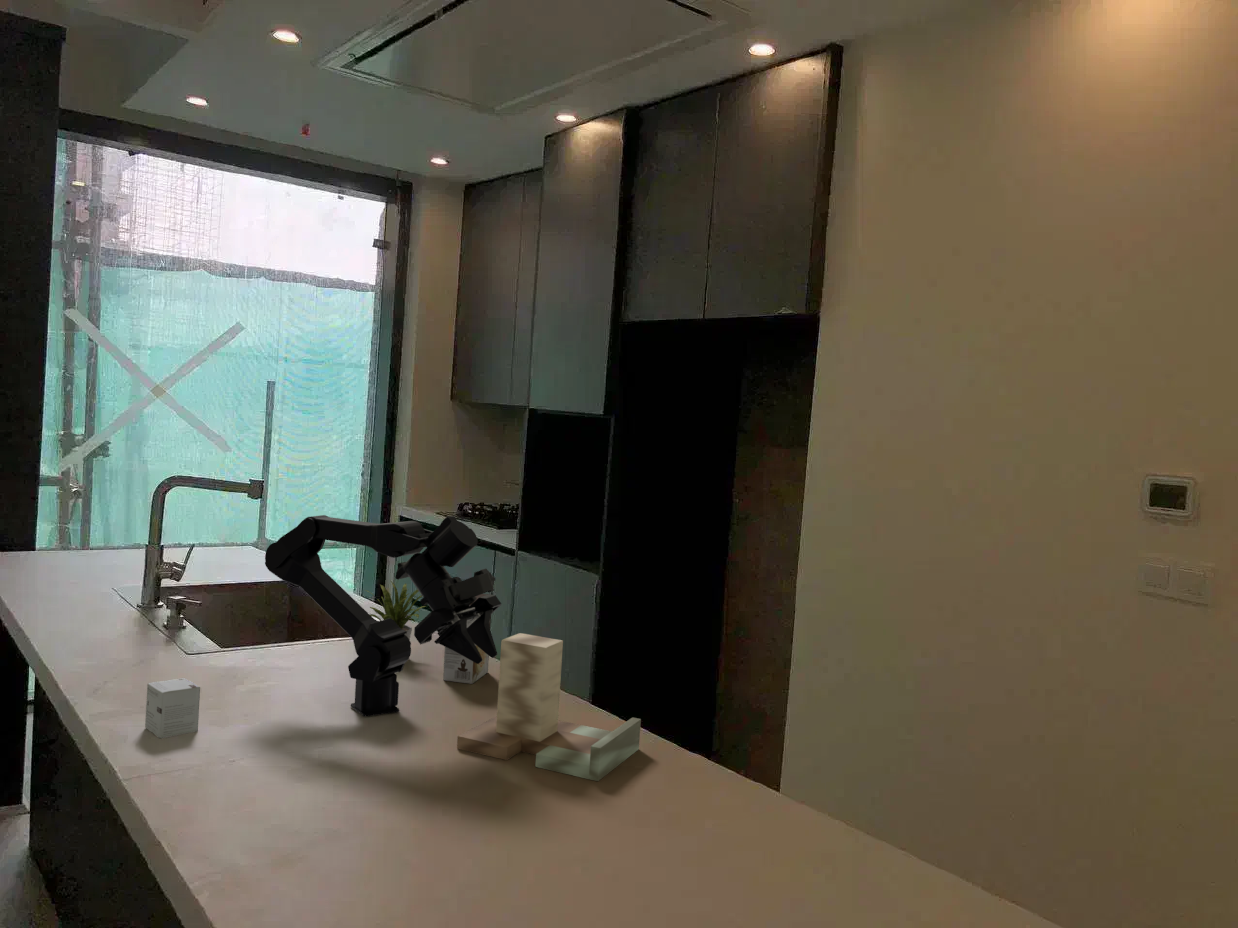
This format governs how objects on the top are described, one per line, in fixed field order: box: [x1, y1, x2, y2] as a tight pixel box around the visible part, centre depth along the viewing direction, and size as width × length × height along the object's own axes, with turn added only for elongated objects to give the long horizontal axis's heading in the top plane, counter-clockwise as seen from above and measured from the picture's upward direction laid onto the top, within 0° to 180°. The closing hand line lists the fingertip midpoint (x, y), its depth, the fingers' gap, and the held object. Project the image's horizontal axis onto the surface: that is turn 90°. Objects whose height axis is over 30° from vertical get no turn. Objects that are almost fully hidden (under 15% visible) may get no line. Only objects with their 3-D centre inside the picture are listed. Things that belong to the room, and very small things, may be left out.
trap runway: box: [456, 715, 642, 782], centre depth 156 cm, size 24×16×5 cm, turn 67°
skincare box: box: [144, 677, 201, 739], centre depth 154 cm, size 6×6×7 cm
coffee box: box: [442, 593, 492, 685], centre depth 193 cm, size 9×6×16 cm
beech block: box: [496, 632, 564, 742], centre depth 158 cm, size 8×6×15 cm
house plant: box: [365, 579, 427, 640], centre depth 204 cm, size 14×14×16 cm
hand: (487, 659), depth 161 cm, fingers open, 4 cm apart
